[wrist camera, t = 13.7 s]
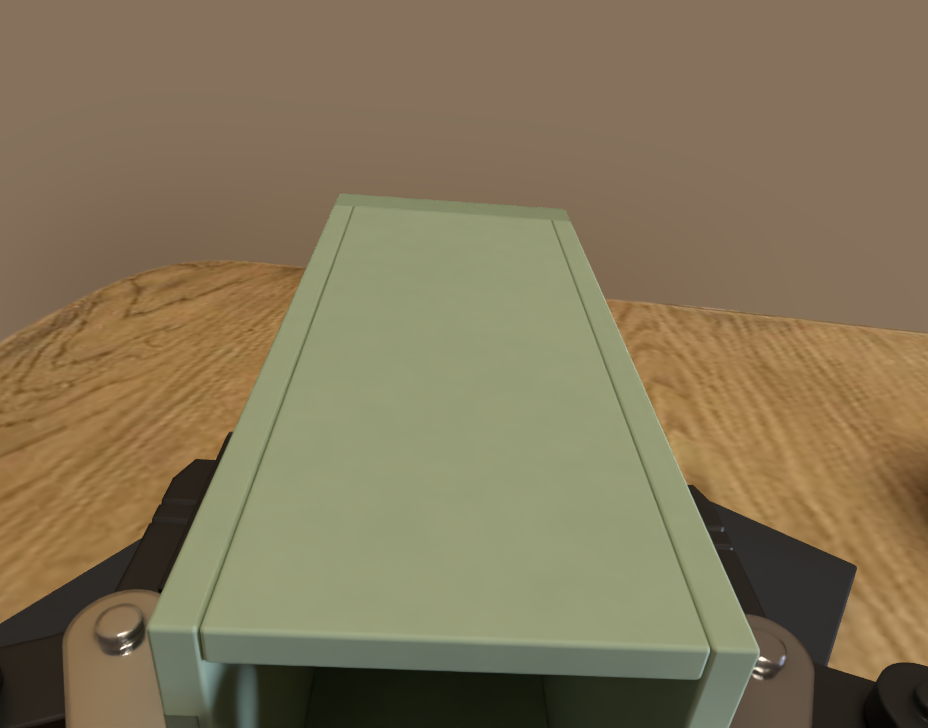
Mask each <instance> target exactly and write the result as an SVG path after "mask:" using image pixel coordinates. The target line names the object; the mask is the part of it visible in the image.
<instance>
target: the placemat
mask: <svg viewBox="0 0 928 728" xmlns="http://www.w3.org/2000/svg"><path fill="white" fill-rule="evenodd" d="M710 502H711V501H710ZM711 503H712V504H713V505H714V507H715V509H716V511H717V513H718V515H719V517H720V519H721V522H722V524H723V526H724V532H727V534H728V536H729V539H730V541H731V543H732V545H733V551H736V553H737V555H738V558H739V560H740V562H741V564H742V566H743V568H744V570H745V572H746V575H747V577H748V579H749V581H750V583H751V585H752V587H753V589H754V591H755V594H756V596H757V598H758V600H759V602H760V604H761V606H762V608H763V611H764V613H765V615H766V617H767V619H768V620H770V621H773V622H775V623H777V624H778V625H780V626H782V627H784V628H785V629H786V630H788V631H789V632H791V633H792V634H793V635H794V636H795V637H796V638H797V639H798V640H799V641H800V642H801V643H802V644H803V646H804V647H805V648H806V650H807V651H808V653H809V655H810V657H811V659H812V661H814V662H816V663H818V664H821V665H823V666H826V667H827V665H828V661H829V658H830V655H831V652H832V648H833V645H834V642H835V639H836V635H837V632H838V629H839V626H840V622H841V619H842V616H843V613H844V609H845V606H846V603H847V599H848V596H849V593H850V590H851V586H852V583H853V580H854V577H855V573H856V570H857V566H855V565H853V564H851V563H849V562H847V561H844V560H842V559H840V558H837V557H835V556H833V555H831V554H828V553H826V552H824V551H822V550H819V549H817V548H815V547H813V546H810V545H808V544H806V543H804V542H801V541H799V540H797V539H794V538H792V537H790V536H788V535H785V534H783V533H781V532H779V531H776V530H774V529H772V528H770V527H767V526H765V525H763V524H760V523H758V522H756V521H754V520H751V519H749V518H747V517H745V516H742V515H740V514H738V513H736V512H733V511H731V510H729V509H727V508H724V507H722V506H720V505H717V504H715V503H713V502H711ZM141 539H142V538H141ZM141 539H139V540H138V541H136V542H134V543H133V544H131V545H129V546H128V547H126V548H124V549H123V550H121V551H120V552H118V553H116V554H115V555H113V556H111V557H110V558H108V559H106V560H105V561H103V562H101V563H100V564H98V565H96V566H95V567H93V568H92V569H90V570H88V571H87V572H85V573H83V574H82V575H80V576H78V577H77V578H75V579H73V580H72V581H70V582H68V583H67V584H65V585H63V586H62V587H60V588H59V589H57V590H55V591H54V592H52V593H50V594H49V595H47V596H45V597H44V598H42V599H40V600H39V601H37V602H35V603H34V604H32V605H30V606H29V607H27V608H26V609H24V610H22V611H21V612H19V613H17V614H16V615H14V616H12V617H11V618H9V619H7V620H6V621H4V622H2V623H1V624H0V647H2V646H6V645H11V644H15V643H20V642H25V641H29V640H34V639H38V638H43V637H47V636H51V635H54V634H58V633H60V632H63V631H66V630H67V628H68V626H69V624H70V623H71V621H72V620H73V619H74V618H75V616H77V615H78V614H79V613H80V612H81V611H82V610H83V609H84V608H86V607H87V606H88V605H90V604H91V603H93V602H95V601H96V600H98V599H100V598H102V597H104V596H107V595H109V594H112V593H114V591H115V589H116V587H117V585H118V583H119V581H120V579H121V578H122V576H123V574H124V572H125V570H126V568H127V566H128V564H129V562H130V560H131V558H132V556H133V554H134V553H135V551H136V549H137V547H138V545H139V543H140V541H141Z"/></svg>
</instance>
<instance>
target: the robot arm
mask: <svg viewBox="0 0 928 728" xmlns="http://www.w3.org/2000/svg"><path fill="white" fill-rule="evenodd" d="M232 434H233V432H229V434H228V435H227V437H226V439H225V441H224V443H223V446H222V448H221V450H220V452H219V454H218V457H217V459H216V460H203V459H195V460H194V461H193V462H192V463H191V464H189V465H188V466H187V467H186V468H185V469H183V470H182V471H181V472H180V473H179V474H177V475H176V476H175V477H174V478H173V479H172V481H171V483H170V485H169V487H168V489H167V491H166V493H165V495H164V497H163V499H162V504H161V505H159V506H158V508H157V510H156V512H155V514H154V516H153V518H152V523H150V524H149V526H148V528H147V529H146V531H145V533H144V535H143V537H142V539H141V541H140V543H139V545H138V547H137V549H136V551H135V553H134V554H133V556H132V558H131V560H130V562H129V564H128V566H127V568H126V570H125V572H124V574H123V576H122V578H121V579H120V581H119V583H118V585H117V587H116V589H115V591H114V593H112V594H109V595H107V596H104V597H102V598H100V599H98V600H96V601H95V602H93V603H91V604H90V605H88V606H87V607H86V608H84V609H83V610H82V611H81V612H80V613H79V614H78V615H77V616H75V618H74V619H73V620H72V621H71V623H70V624H69V626H68V628H67V630H66V631H63V632H60V633H58V634H54V635H51V636H47V637H43V638H38V639H34V640H29V641H25V642H20V643H15V644H11V645H6V646H2V647H0V728H200V724H199V720H198V716H182V715H166V714H164V713H163V709H162V704H161V700H160V695H159V690H158V685H157V680H156V675H155V670H154V665H153V661H152V656H151V651H150V646H149V641H148V636H147V631H146V627H147V625H148V622H149V620H150V618H151V616H152V613H153V611H154V609H155V607H156V605H157V602H158V600H159V598H160V596H161V593H162V591H163V589H164V587H165V584H166V582H167V580H168V578H169V575H170V573H171V571H172V569H173V566H174V564H175V562H176V560H177V557H178V555H179V553H180V551H181V548H182V546H183V544H184V542H185V539H186V537H187V535H188V533H189V530H190V528H191V526H192V524H193V521H194V519H195V517H196V515H197V512H198V510H199V508H200V506H201V503H202V501H203V499H204V497H205V495H206V492H207V490H208V488H209V486H210V483H211V481H212V479H213V477H214V474H215V472H216V470H217V468H218V465H219V463H220V461H221V459H222V456H223V454H224V452H225V450H226V447H227V445H228V443H229V441H230V438H231V436H232ZM687 486H688V488H689V490H690V493H691V495H692V497H693V499H694V502H695V504H696V506H697V509H698V511H699V513H700V515H701V518H702V520H703V522H704V524H705V527H706V529H707V531H708V533H709V536H710V538H711V540H712V542H713V545H714V547H715V549H716V552H717V554H718V556H719V558H720V561H721V563H722V565H723V567H724V570H725V572H726V574H727V576H728V579H729V581H730V583H731V585H732V588H733V590H734V592H735V594H736V597H737V599H738V601H739V604H740V606H741V608H742V610H743V613H744V615H745V617H746V619H747V622H748V624H749V626H750V628H751V631H752V633H753V635H754V637H755V640H756V642H757V644H758V647H759V650H760V655H759V657H758V659H757V662H756V664H755V666H754V669H753V671H752V674H751V676H750V678H749V681H748V683H747V686H746V688H745V690H744V693H743V695H742V698H741V700H740V702H739V705H738V707H737V710H736V712H735V714H734V717H733V719H732V721H731V724H730V726H729V728H928V667H927V666H924V665H920V664H915V663H896V664H892V665H890V666H887V667H886V668H885V669H884V670H883V671H882V672H881V674H880V676H879V677H878V679H877V681H876V682H874V681H871V680H868V679H864V678H861V677H858V676H855V675H851V674H848V673H845V672H842V671H839V670H835V669H832V668H829V667H826V666H823V665H821V664H818V663H816V662H814V661H812V659H811V657H810V655H809V653H808V651H807V650H806V648H805V647H804V646H803V644H802V643H801V642H800V641H799V640H798V639H797V638H796V637H795V636H794V635H793V634H792V633H791V632H789V631H788V630H786V629H785V628H784V627H782V626H780V625H778V624H777V623H775V622H773V621H770V620H768V619H767V617H766V615H765V613H764V611H763V608H762V606H761V604H760V602H759V600H758V598H757V596H756V594H755V591H754V589H753V587H752V585H751V583H750V581H749V579H748V577H747V575H746V572H745V570H744V568H743V566H742V564H741V562H740V560H739V558H738V555H737V553H736V551H733V545H732V543H731V541H730V539H729V536H728V534H727V532H724V526H723V524H722V522H721V519H720V517H719V515H718V513H717V511H716V509H715V507H714V505H713V504H712V503H711V502H710V501H709V500H708V499H707V498H706V497H705V496H704V495H703V494H702V493H701V492H700V491H699V490H698V489H697V488H696V487H694V486H693V485H687Z"/></svg>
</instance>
